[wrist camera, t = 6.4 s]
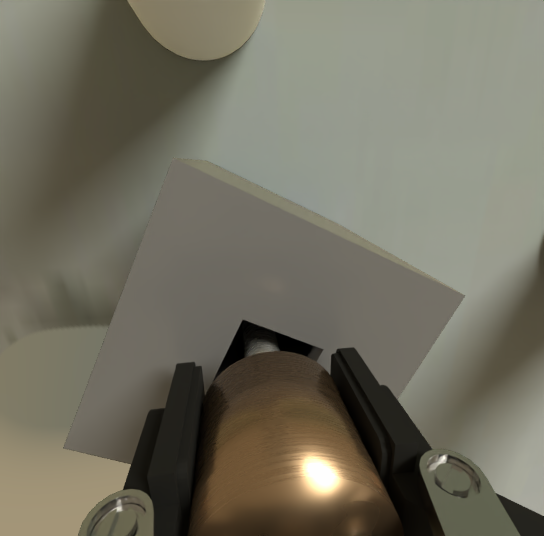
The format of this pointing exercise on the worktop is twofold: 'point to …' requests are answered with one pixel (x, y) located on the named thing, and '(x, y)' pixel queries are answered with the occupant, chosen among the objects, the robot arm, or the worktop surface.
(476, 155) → the worktop surface
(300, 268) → the grey box
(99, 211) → the worktop surface
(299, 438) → the plunger
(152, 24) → the container
